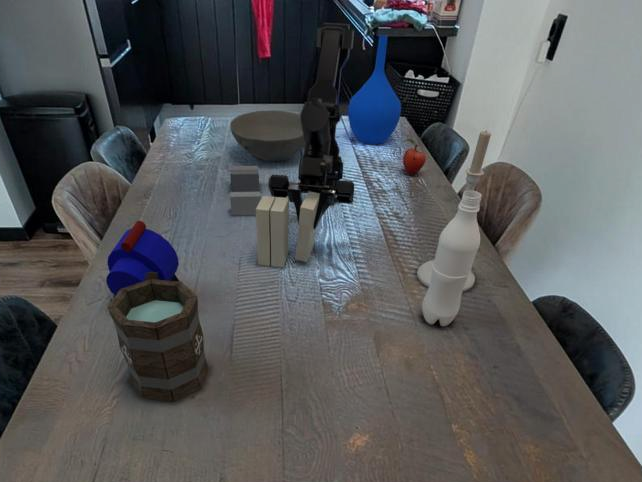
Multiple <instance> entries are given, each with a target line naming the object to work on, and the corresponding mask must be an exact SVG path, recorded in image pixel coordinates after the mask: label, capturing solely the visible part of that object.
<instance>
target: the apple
mask: <svg viewBox="0 0 642 482" xmlns="http://www.w3.org/2000/svg"><path fill="white" fill-rule="evenodd" d="M405 141H408V142H410V143H412V144H413V145H414V148H408V149H406V150H405V152H404V155H403V158H402V164H403V169H404V170H405V172H406V175H409V176H410V175H412V176H415V175H417V174H418V173H419V171H420V170H422V168H423V167H424V165H425V163H426V161H427V160H426V159H427V158H426V155H425V153H423V151H420V150H417V147H418V146H419V145H418V144H417V143H415V140H413V139H412V138H407V139H405V140H403V142H405Z"/></svg>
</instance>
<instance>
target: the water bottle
mask: <svg viewBox="0 0 642 482" xmlns="http://www.w3.org/2000/svg"><path fill="white" fill-rule="evenodd" d="M463 193H464V194H463ZM463 193H462V197H461V200H462V201H461V200H460V202H459V204H458V206H457V212H456V214H455V215H454V216H453V218H452V219H451V220H450V221H449V222H448V224H447V225H445V227H444V228H443V229H442V231H441V232H440V235H439V237H438V241H437V242H438V243H437V247H436V251H435V255H434V259H433V260H434V263H433V265H432V276H431V281H430V285H429V287H427V291H426V293H425V296H424V298H423V299H422V304H421V313H422V316H423V318H424V320H425V322H426V323H428V324H429V325H434V324H435V323H436V322H437V321H439V326H441V327H446V326H449V325H450V324H451V323H452V322H453V320H454V319H455V318H456V316H457V315H458V313H459V311H460V307H461V299H462V294H463V292H464V291H463V288H464V285H465V282H466V280H467V278H468V276H469V274H470V273H471V271H472V269H473V265H474V262H475V259H476V256H477V253H478V250H479V248H480V244H481V233H480V228H479V223H478V212H480V209H481V208H480V206H481V201H482V197H483V196H482V195H483V194H482V193H480V192H479V191H475V190H474V191H465V192H464V191H463ZM458 209H459V210H458ZM462 291H463V292H462Z"/></svg>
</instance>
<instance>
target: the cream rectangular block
mask: <svg viewBox="0 0 642 482" xmlns="http://www.w3.org/2000/svg"><path fill="white" fill-rule="evenodd" d="M319 196H320V194H319V193H315V192H310V191H308V193H306V195H305V197H304V199H303V200H302V205H301V207H300V217H299V225H298V228H297V237H296V238H297V239H296V249H295V259H294V260H295V261H296V260H297V261H300V262H305V263H307V262H308V260H309V258H310V256H311V253H312V251H313V249H314V246H315V242H316V241H315V239H316V233H317V228H316V229H314V220H315V216H316V212H317V207H318V203H319Z"/></svg>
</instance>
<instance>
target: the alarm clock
mask: <svg viewBox="0 0 642 482" xmlns="http://www.w3.org/2000/svg"><path fill="white" fill-rule="evenodd" d="M106 263H107V268H108V271H109V272H108V274H107V275H106V278H105V282H106V286H107V288H108V290H109V291H110V293H112V295H113V298H114V297H115V296H116V295H117V293H118V292H119V290H120V289H122V288H125V287H128V286H131V285H134V284H137V283H140V282H143V281H145V275H146V273H148V272H157V273H158V276H159V280H167V281H178V282H181V281H180V280H179V278H178V276H177V275H176V272H177V271H178V268H179V265H180V264H179V263H180V262H179V256H178V254H177V251H176V249H175V248H174V247H173V245H172V244H171V243H170V242H169V241H168V240H167V239H166V238H165V237H164V236H163V235H161V234H159V233H158V232H156V231H154V230H151V229H148V228H147V225H146V223H145V222H144V221H142V220H137V221H136V222H135V223H134V225H133V226H132V227H131V228H130V229H127V230H126V231H125V232H124V233H123V235H122V236H121V237H120V238H119V240H118V242H117V243H116V245H115V246H114V247H113V248H112V250H111V252H110V253H109V255H108V256H107V262H106Z"/></svg>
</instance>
